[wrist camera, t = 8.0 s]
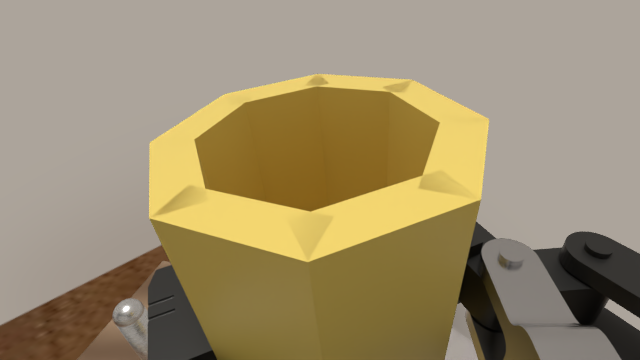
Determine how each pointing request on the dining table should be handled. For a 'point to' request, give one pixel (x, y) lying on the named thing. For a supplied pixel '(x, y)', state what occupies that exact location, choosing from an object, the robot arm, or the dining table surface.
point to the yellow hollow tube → (322, 217)
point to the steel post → (133, 325)
